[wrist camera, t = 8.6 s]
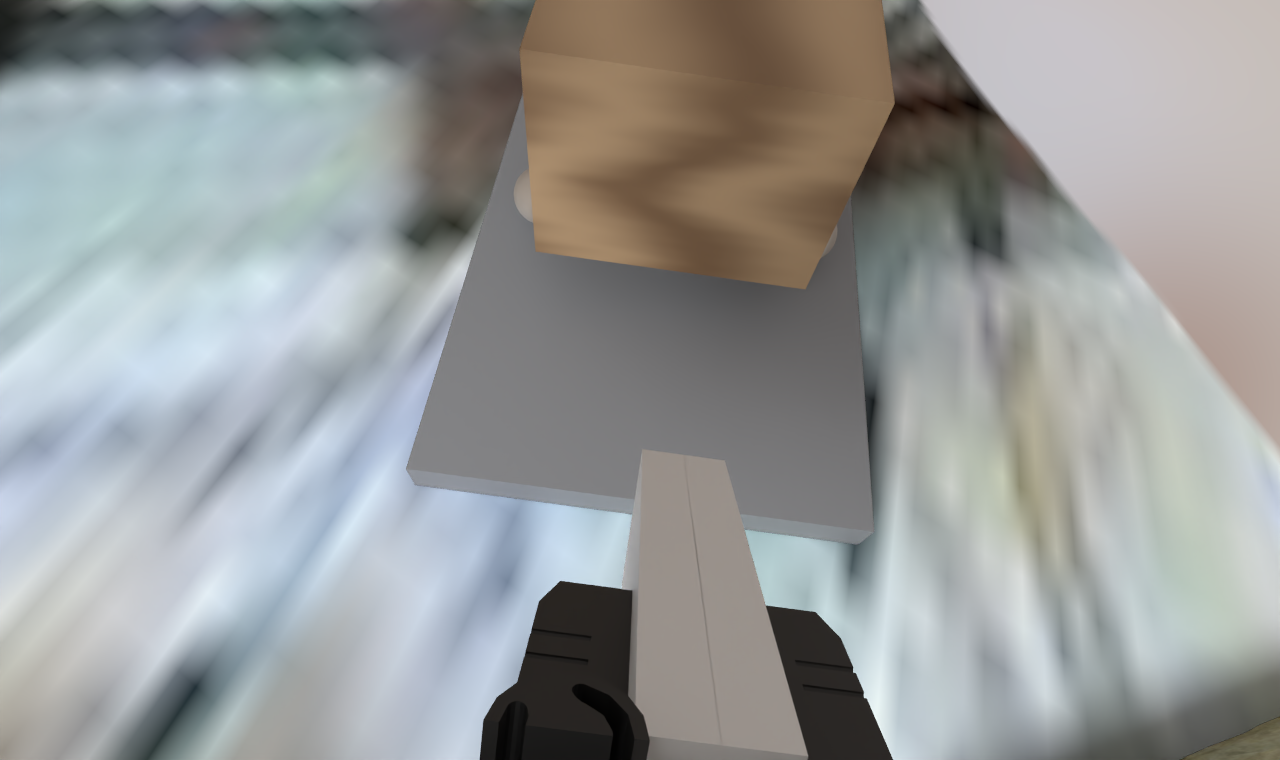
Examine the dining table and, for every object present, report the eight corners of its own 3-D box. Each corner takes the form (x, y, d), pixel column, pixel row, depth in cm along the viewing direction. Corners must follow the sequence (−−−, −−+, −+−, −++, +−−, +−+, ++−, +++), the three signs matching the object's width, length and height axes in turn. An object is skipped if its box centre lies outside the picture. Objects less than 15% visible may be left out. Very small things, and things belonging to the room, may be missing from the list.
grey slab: (415, 485, 24) (365, 398, 18) (533, 91, 35) (525, -38, 29) (858, 544, 24) (943, 477, 18) (835, 134, 35) (884, 14, 30)
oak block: (496, 285, 26) (455, 39, 18) (550, 92, 33) (539, -165, 24) (829, 332, 27) (958, 112, 18) (821, 131, 33) (913, -108, 24)
